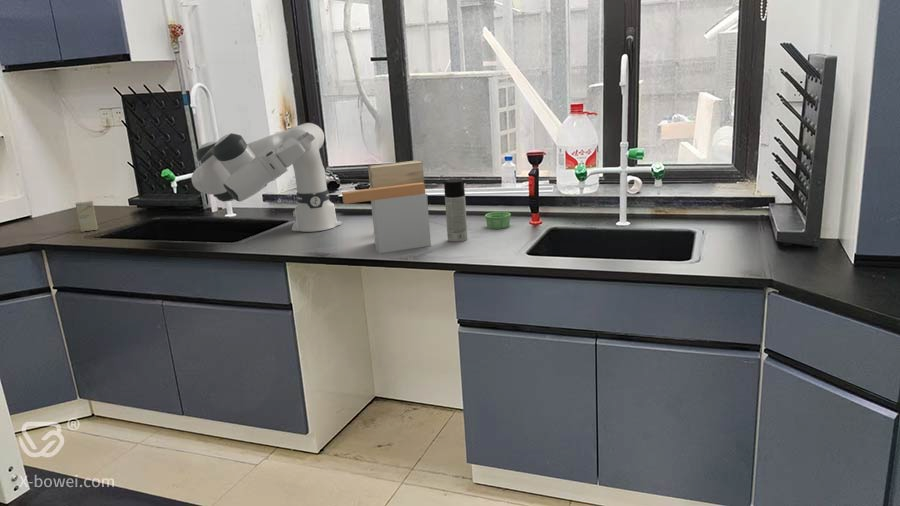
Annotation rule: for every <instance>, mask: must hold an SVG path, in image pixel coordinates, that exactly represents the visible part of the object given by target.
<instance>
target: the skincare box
mask: <svg viewBox="0 0 900 506" xmlns="http://www.w3.org/2000/svg"><path fill="white" fill-rule="evenodd" d="M75 209H76V213H77V217H78V219H77V220H78V224H79V228H80V232H81V231H88V230H97V229H98V230H99V228H98V222H97V218H96V211H95V206H94V201H93V200H89V201H81V202H75ZM98 230H97V231H98Z"/></svg>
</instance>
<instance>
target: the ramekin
mask: <svg viewBox="0 0 900 506" xmlns="http://www.w3.org/2000/svg"><path fill="white" fill-rule="evenodd" d="M485 221H486V227H487V228H489V229H492V230H499V229H506V228H508V227H510V223H511V213H510V212H507V211H494V212H493V211H492V212H488V213H486V214H485Z"/></svg>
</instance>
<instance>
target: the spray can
mask: <svg viewBox="0 0 900 506" xmlns="http://www.w3.org/2000/svg"><path fill="white" fill-rule="evenodd" d="M464 182H465V180H464V179H461V178H451V179H447V180H445V181H444V183H443V185H444V186H443V187H444V189H443V190H444V203H445V217H446V218H445V219H446V220H445V221H446V232H447V234H446V235H447V241H448V242H451V243H459V242H460V243H461V242H465V241H467V240H468V225H467V209H466V207H467V206H466V191H465V190H466V189H465V183H464Z"/></svg>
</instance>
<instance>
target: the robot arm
mask: <svg viewBox="0 0 900 506" xmlns="http://www.w3.org/2000/svg"><path fill="white" fill-rule="evenodd" d="M324 142H325V133H324V131H323V129H322V128H321V127H320V126H319V125H317V124H315V123H312V122H305V123H301V124H299V125H297V126H293V127H291V128H289V129H286V130H283V131H279V132H276V133H275V134H271V135H269V136H265V137H263V138H260V139H257V140H255V141H252V142H249V143H247V142H246V141H245V138H244V137H243V136H242V135H241V134H236V133H228V134H225V135H224V136H222V137H220V138H219V139H218V140H217V141H209V142H206V143H204V144H202V145H200V146H199V148H197V149H196V152H195V156H196V159H197V162H198V163H199V166H198V167H197V168H196V169H194V171H193V172H192V173H191V184H192V186H193V188H194V189H195V190H197V191H198V192H200V193H202V194H206V195H213V197H214V198H216V199H217V200H218V201H221V202H232V201H234V200H235V201H236V202H243V201H245V200H247V199H249V198H251V197H253V196H254V195H256V194H258V193H259V192H260V191H261V190H263V189H264V188H266V186H267V185H268V184H269V183H271V182H273V181H275V180H277V179H278V178H280V177H281V176H282V175H283V174H285V173H286V172H288V168H289V167H291V166H292V167H293V171H294V176H295V183H296V184H295V185H296V191H297V192H296V202H297V206H295V208H294V210H293V211H292V214H293V215H292V216H293V218H294V222H293V225H292V226H291V231H292V232H303V233H306V232H309V233H310V232H321V231H326V230H329V229H330V230H331V229H333V228H335V227H337V226H340V225H342V221H340V220H338V219H337V214H336V209H335V204H334V202H332V201H331V200H330V191H329V189H328V187H327V186H328V185H327V178H326V177H327V176H326V171H325V166H324V165H323V160H322V157H321V153H320V149H321V148H322V147H323V145H324Z"/></svg>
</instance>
